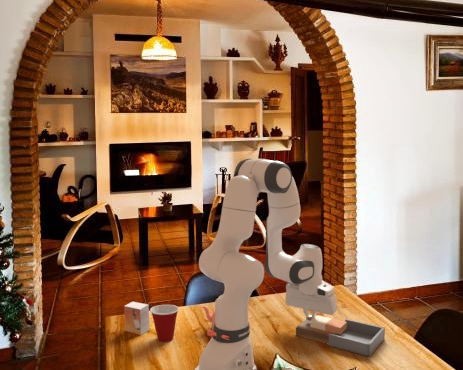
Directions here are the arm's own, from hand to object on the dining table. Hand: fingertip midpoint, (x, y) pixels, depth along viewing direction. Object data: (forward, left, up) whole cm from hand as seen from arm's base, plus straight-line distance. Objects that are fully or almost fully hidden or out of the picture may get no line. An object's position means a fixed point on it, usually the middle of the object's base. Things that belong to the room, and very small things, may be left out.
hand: (310, 320), depth 190 cm
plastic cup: (-35, +43, -4) cm, 56 cm away
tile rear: (0, -4, -1) cm, 5 cm away
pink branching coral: (-17, +29, -4) cm, 34 cm away
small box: (-36, +57, -4) cm, 67 cm away
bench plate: (0, -4, -4) cm, 6 cm away
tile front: (0, -10, -1) cm, 11 cm away
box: (0, -19, -4) cm, 19 cm away
